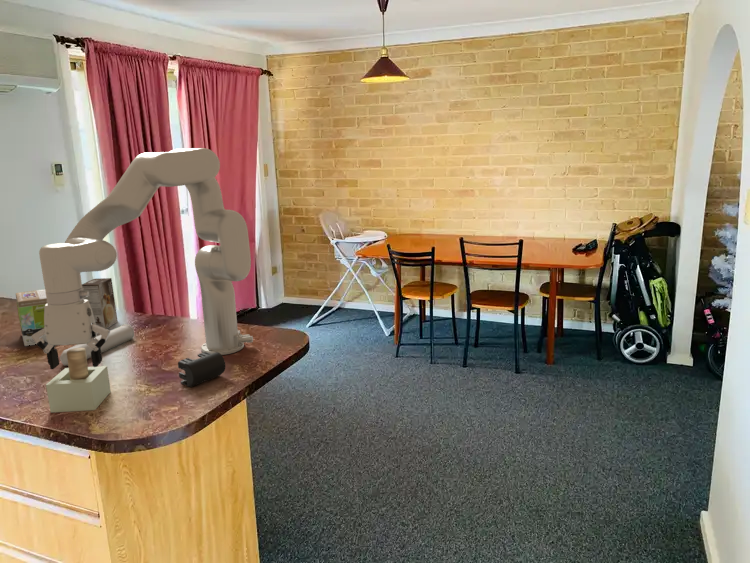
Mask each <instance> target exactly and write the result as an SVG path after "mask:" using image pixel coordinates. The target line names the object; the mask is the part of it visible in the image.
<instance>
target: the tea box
mask: <svg viewBox="0 0 750 563" xmlns="http://www.w3.org/2000/svg"><path fill="white" fill-rule="evenodd" d="M15 297H16V299H15V300H16V301H15V302H16V307H17V308H16V309H17V315H18V319H19V320H18V322H19V327H20V332H21V336H22V341H23V345H24V347H28V346H29V345H30V346H35V344H36V345H37V343H36V342H35V341H34V340H33V338H32V335H33V334H35V333H36V332H38V331H40V330H42V329H44V328H45V326H44V310H45V304H47V298H46V292H45V288H44V289H36V290H29V291H20V292H16V293H15ZM42 338H43V340H45V341H46V342H47V340H46V335H45V334H44V335H42Z"/></svg>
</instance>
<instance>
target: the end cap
mask: <svg viewBox="0 0 750 563" xmlns="http://www.w3.org/2000/svg"><path fill="white" fill-rule="evenodd" d="M197 357H199V358H195V359H191V358H188V357H186V358H184V359H181V360H179V361H178V362H177V368H178V369H180V370H183V371H184V372H178V376H179V378H180V379H181V381H180V384H181V385H183V386H185V385H186V387H188V388H193V387H195V386H198V385H200V384H202V383H206V382H208V381H209V380H212V379H215V378H217V377H219V376H221V375H222V374H223V373H224V372H225V370H226V361H225V358H224V357H223V355H221V354H220V353H219V352H215V353H212V354H211V353H208V352H201V353H198V354H197Z"/></svg>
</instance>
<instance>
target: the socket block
mask: <svg viewBox="0 0 750 563" xmlns="http://www.w3.org/2000/svg"><path fill="white" fill-rule="evenodd" d="M88 374H89V376H88V377H87V378H86V379H82V380H70V375H69V367H64V369H62V370H61V371H60V372H59V373H58V374H57V375H55V376H54V377H53V378H52V379H51V380H50V381H49V382H47V383H46V384H45V388H46V394H47V399H48V404H49V410H50V411H49V412H50V413H64V412H66V413H67V412H69V413H70V412H82V411H84V412H85V411H96V409H97V408H98V407H99V406H100V405H101V404H102V402H103V401H104V400H105V399H106V398H107V397H108V396H109V394H110V393H111V392H112V391H111V384H110V378H109V370H108V366H107V365H103V366H101V365H98V366H97V367H93V366H88Z"/></svg>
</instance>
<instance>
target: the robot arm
mask: <svg viewBox="0 0 750 563" xmlns="http://www.w3.org/2000/svg"><path fill="white" fill-rule="evenodd" d="M220 168H221V162H220V159H219V157H218V155H217V154H216V153H215V152H214V151H213V150H211V149H209V148H206V147H205V148H204V147H192V148H190V147H185V148H184V147H181V148H175V149H172V150H170V151H165V152H164V151H160V152H158V151H157V152H155V151H154V152H153V151H152V152H148V151H147V152H143V153H140V154H138V155H137V156H136V157H135V158H134V159H133V160H132V161H131V163H130V164H129V166H128V167H127V168H126V170H125V172H124V173H123V174H122V176H121V177H120V179H119V180H118V182H117V183H116V184H115V186H114V187H113V188H112V190H111V192H110V193H109V194H108V195H107V196H106V198H104V199H103V200H102V201H100V202H99V203H97V205H95V207H93V208H92V209H91V210H89V211H88V212H87V213H86V214H85V215H83V217H82V218H81V219H80V220H79V221H78V222H77V223H76V224H75V226H74V227H73V229H72V230H71V232H70V233H69V235H68V236H67V238H66V239H65V242H58V243H57V242H55V243H50V244H45V245H43V246H42V247H40V248H39V251H38V254H39V261H40V266H41V273H42V279H43V284H44V289H45V292H46V298H47V304H45V310H44V326H45V328H44V329H42V330H40V331H38V332H36V333H35V334H33V335H32V338H33V340H34V341H35V342H36V343H37V344H36V346H37V347H38V348H39V349H41V350H42V351H43V353H44V354H46V358H47V364H48V365H49V369H50V370H54V369H56V368H57V367H58V366H60V358H59V352H58V350H57V348H56V346H75V345H79V344H87V345H88V346H89V347H90V348H91V349H93V350H92V351H91V363H92V367H97V366H100V364H101V362H103V356H102V353H101V347H102V345H103V344H104V343H105V342H106V341H107V338H108V336H109V334H110V331H111V330H109V329H108V328H107V329H105V328H103V327H100V326H98V325H96V323H95V319H94V315H93V312H92V309H91V306H90V303H89V301H88V300H86V299H84V298H85V297H89V291H84V289H83V288H82V284H83V282H82V277H81V276H82V275H81V273H87V272H88V273H89V272H90V273H91V272H101V271H105V270H108V269H110V268H111V267H112V266H114V264H115V263H116V260H117V255H118V254H117V250H116V249H115V248H116V247H114V246H113V244H111V243H110V242H108V241H107V240H104V239H105V238H106V236H108V235H109V234H110V233H111V232H112V231H113V230H115V229H116V228H119V227H120V226H123V225H125V224H127V223H130V222H132V221H134V220H136V219H137V218H139V217H140V216H141V215H142V214H143V212H144V211H145V209H146V208H147V206H148V204H149V202H150V201H151V200H152V198H153V197H154V194H155V193H156V192H157V191H158V189H159V188H160V187H165V188H170V187H179V186H185V188H186V189H187V191H188V193H189V196H190V200H191V207H192V214H193V222H194V228H195V232H196V235H197V236H198V238H200V240H203V241H205V242H212V243H218V244H219V245H217V244H215V245H214V244H210V245H209V244H208V245H205V246H203V247H201V248H199V250H198V251H197V253H196V254H195V257H194V267H195V271H196V275H197V279H198V282H199V286H200V287H199V288H200V294H201V303H202V314H203V327H204V335H205V336H204V337H205V343H203V344H202V345H201V346H200V350H201V353H203V352H208V353H211V354H212V353H215V352H219V353H220V354H221V355H222V356H223V355H229V354H230V355H231V354H235V353H236V352H237V353H238V352H239V351H241V350H242V349H243V348H244V347H245V343H247V344H248V343H253V342H254V337H253V335H250V334H241V330H239V329H238V320H237V318H238V317H237V309H236V308H237V307H236V306H237V305H236V294H235V293H236V292H235V288H234V284H233V282H241V281H244V280H245V279H246V278H247V277H248V275H249V274H250V271H251V267H252V266H251V264H252V260H251V256H252V255H251V248H250V238H249V230H248V225H247V222H246V220H245V218H244V217H243V215H242V214H241V213H240V212H237V211H236V210H233V209H226V208H225V206H224V201H223V194H222V191H221V188H220V184H219V182H218V180H217V179H216V177H217V176H218V174H219V171H220ZM44 334H45V335H46V340H47V342H46V341H45V340H43V338H42V335H44ZM98 334H99V335H101V339H100V340H97V339H96V338H95V337H97V336H98Z"/></svg>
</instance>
